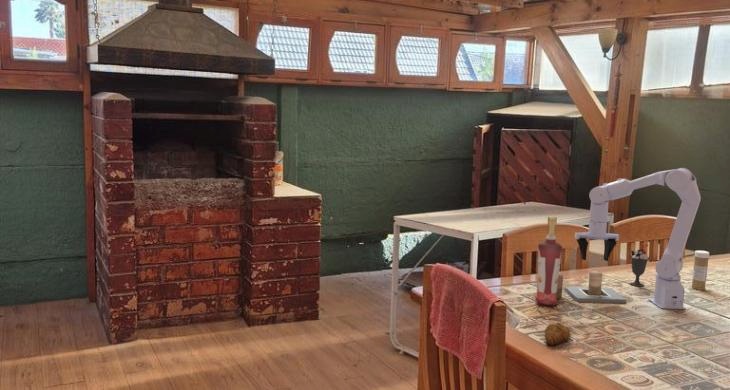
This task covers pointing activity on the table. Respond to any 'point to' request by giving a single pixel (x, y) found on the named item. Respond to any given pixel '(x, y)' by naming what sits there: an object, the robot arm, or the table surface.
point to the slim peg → (595, 283)
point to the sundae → (638, 264)
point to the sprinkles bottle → (700, 270)
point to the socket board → (607, 297)
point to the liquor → (548, 266)
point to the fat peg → (559, 286)
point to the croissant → (556, 334)
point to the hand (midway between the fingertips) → (594, 259)
